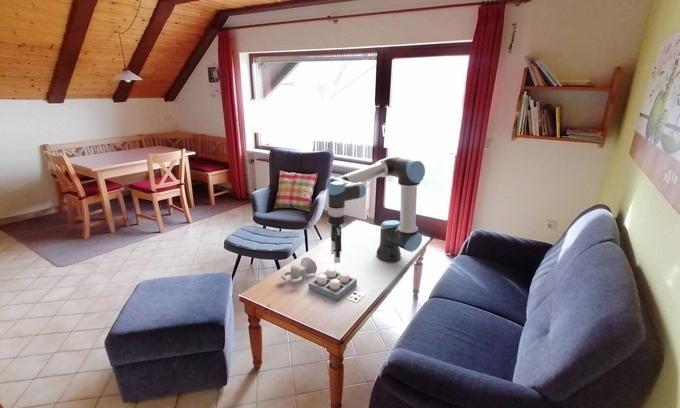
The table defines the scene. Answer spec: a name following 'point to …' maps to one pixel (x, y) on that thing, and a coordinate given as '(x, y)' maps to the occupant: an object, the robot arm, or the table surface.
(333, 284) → the button
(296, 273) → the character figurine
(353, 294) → the card
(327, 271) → the button
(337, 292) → the button board
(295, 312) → the table surface
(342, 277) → the button
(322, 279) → the button
